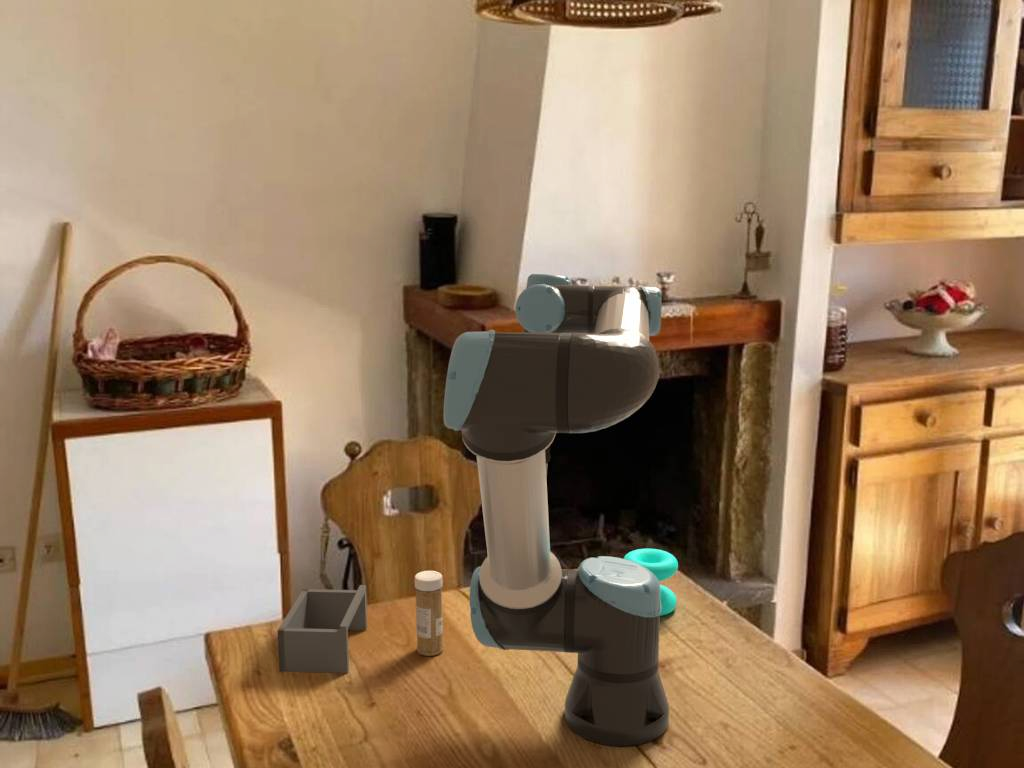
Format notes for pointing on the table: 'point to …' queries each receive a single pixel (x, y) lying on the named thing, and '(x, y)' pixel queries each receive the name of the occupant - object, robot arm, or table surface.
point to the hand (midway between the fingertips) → (531, 494)
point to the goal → (321, 630)
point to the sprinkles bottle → (429, 613)
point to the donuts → (658, 572)
